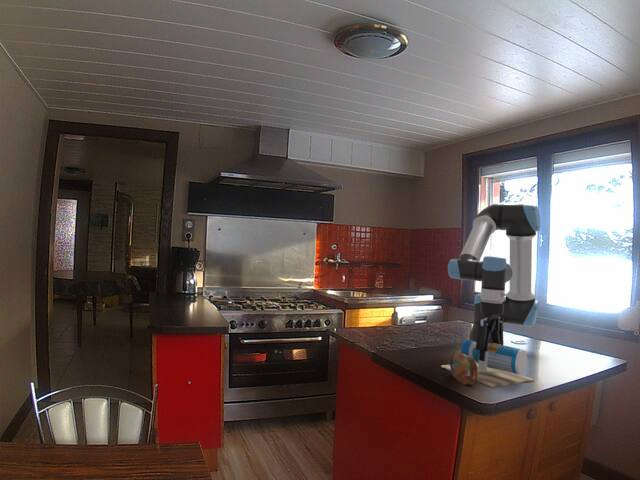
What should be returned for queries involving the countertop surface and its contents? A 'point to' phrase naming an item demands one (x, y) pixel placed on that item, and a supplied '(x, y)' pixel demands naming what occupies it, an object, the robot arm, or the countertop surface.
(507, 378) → the beige flat square
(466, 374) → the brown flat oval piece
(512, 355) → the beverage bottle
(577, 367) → the countertop surface
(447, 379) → the countertop surface
